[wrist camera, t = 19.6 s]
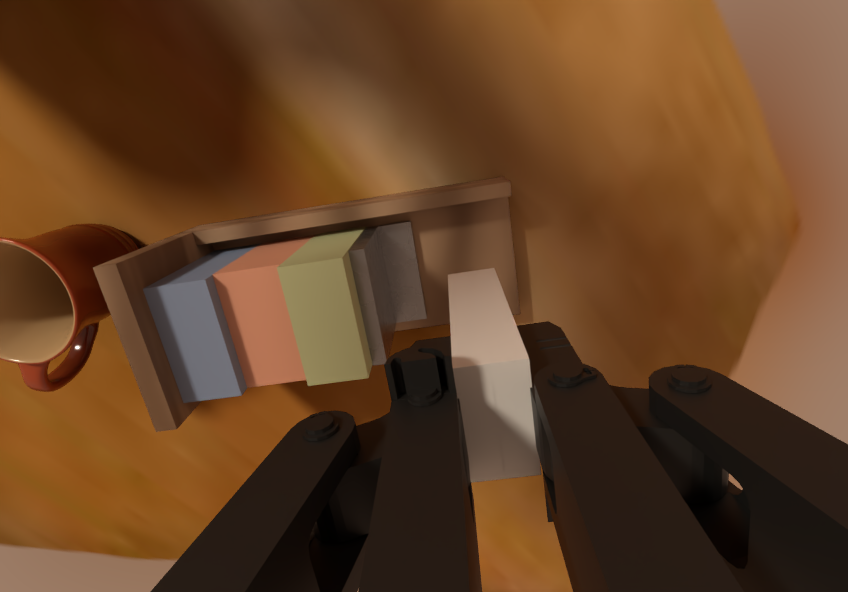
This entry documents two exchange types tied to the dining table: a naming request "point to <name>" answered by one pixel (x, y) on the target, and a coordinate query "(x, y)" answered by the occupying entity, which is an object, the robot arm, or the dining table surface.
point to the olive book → (326, 308)
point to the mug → (54, 299)
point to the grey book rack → (427, 209)
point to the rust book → (261, 314)
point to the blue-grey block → (198, 328)
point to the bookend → (386, 283)
